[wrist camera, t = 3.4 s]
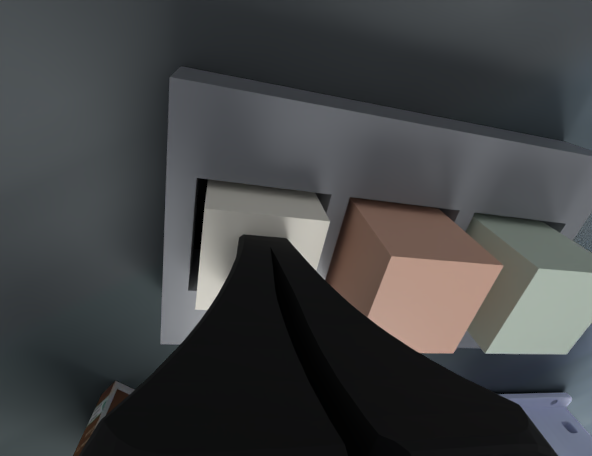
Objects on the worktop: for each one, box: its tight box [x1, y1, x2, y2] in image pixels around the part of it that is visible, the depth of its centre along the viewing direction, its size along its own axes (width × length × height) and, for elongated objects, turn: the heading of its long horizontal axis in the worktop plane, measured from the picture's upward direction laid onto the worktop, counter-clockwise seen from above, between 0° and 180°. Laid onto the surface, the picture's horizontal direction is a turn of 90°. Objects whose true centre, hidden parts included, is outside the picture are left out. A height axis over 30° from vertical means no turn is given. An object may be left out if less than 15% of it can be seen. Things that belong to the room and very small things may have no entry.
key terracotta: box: [326, 197, 504, 353], centre depth 12 cm, size 3×3×4 cm
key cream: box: [195, 179, 330, 310], centre depth 12 cm, size 3×3×4 cm
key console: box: [160, 66, 592, 348], centre depth 13 cm, size 15×9×2 cm, turn 78°
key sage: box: [466, 213, 592, 354], centre depth 13 cm, size 3×3×4 cm
